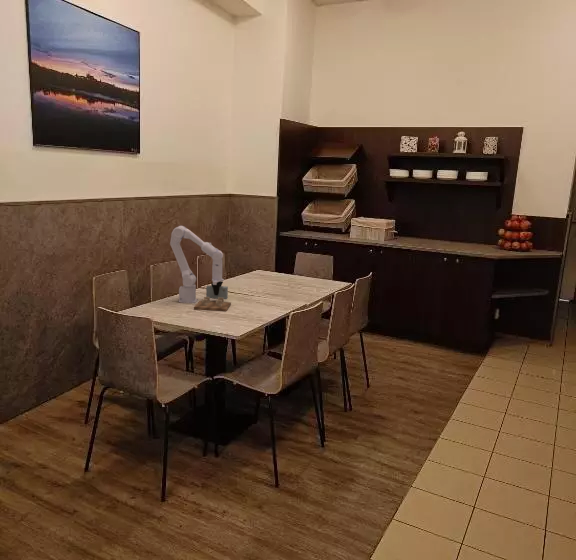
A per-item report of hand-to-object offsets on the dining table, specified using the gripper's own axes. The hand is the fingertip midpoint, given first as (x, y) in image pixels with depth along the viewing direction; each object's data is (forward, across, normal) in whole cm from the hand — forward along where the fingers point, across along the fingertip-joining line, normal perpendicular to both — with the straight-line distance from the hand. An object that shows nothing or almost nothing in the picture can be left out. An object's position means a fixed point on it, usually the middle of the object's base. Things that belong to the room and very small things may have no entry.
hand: (216, 294), depth 294 cm
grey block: (+2, 0, 0) cm, 2 cm away
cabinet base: (+5, -12, 0) cm, 13 cm away
